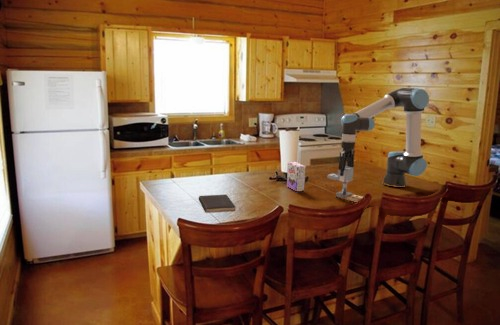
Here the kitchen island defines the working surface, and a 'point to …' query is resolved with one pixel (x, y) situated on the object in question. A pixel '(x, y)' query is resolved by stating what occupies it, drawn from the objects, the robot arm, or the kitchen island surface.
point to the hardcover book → (216, 203)
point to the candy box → (296, 176)
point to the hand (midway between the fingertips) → (345, 180)
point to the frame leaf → (354, 198)
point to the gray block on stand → (344, 191)
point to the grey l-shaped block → (347, 174)
